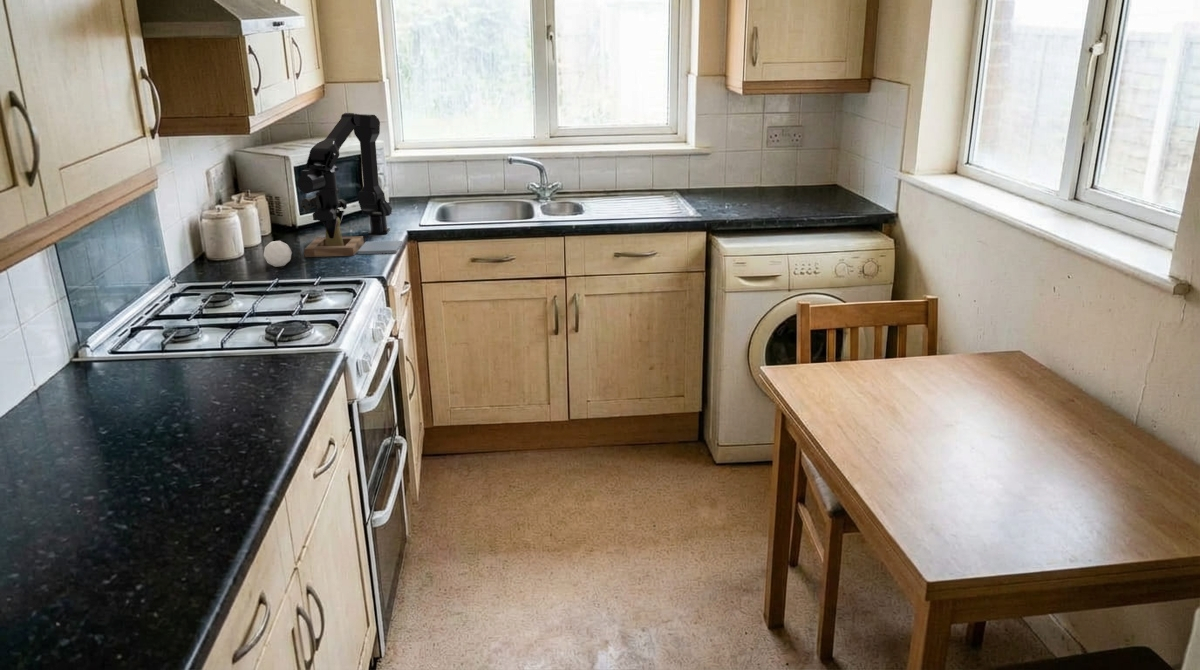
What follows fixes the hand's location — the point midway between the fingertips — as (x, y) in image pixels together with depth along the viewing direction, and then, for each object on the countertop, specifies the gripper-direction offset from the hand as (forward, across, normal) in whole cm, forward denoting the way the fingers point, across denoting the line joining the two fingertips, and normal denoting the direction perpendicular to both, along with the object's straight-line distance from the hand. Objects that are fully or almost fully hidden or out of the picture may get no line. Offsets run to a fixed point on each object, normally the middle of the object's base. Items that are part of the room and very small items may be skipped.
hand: (333, 236), depth 271 cm
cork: (+5, 0, 0) cm, 5 cm away
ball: (+5, +17, -13) cm, 22 cm away
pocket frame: (+4, 0, 0) cm, 4 cm away
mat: (+4, 0, +14) cm, 15 cm away
